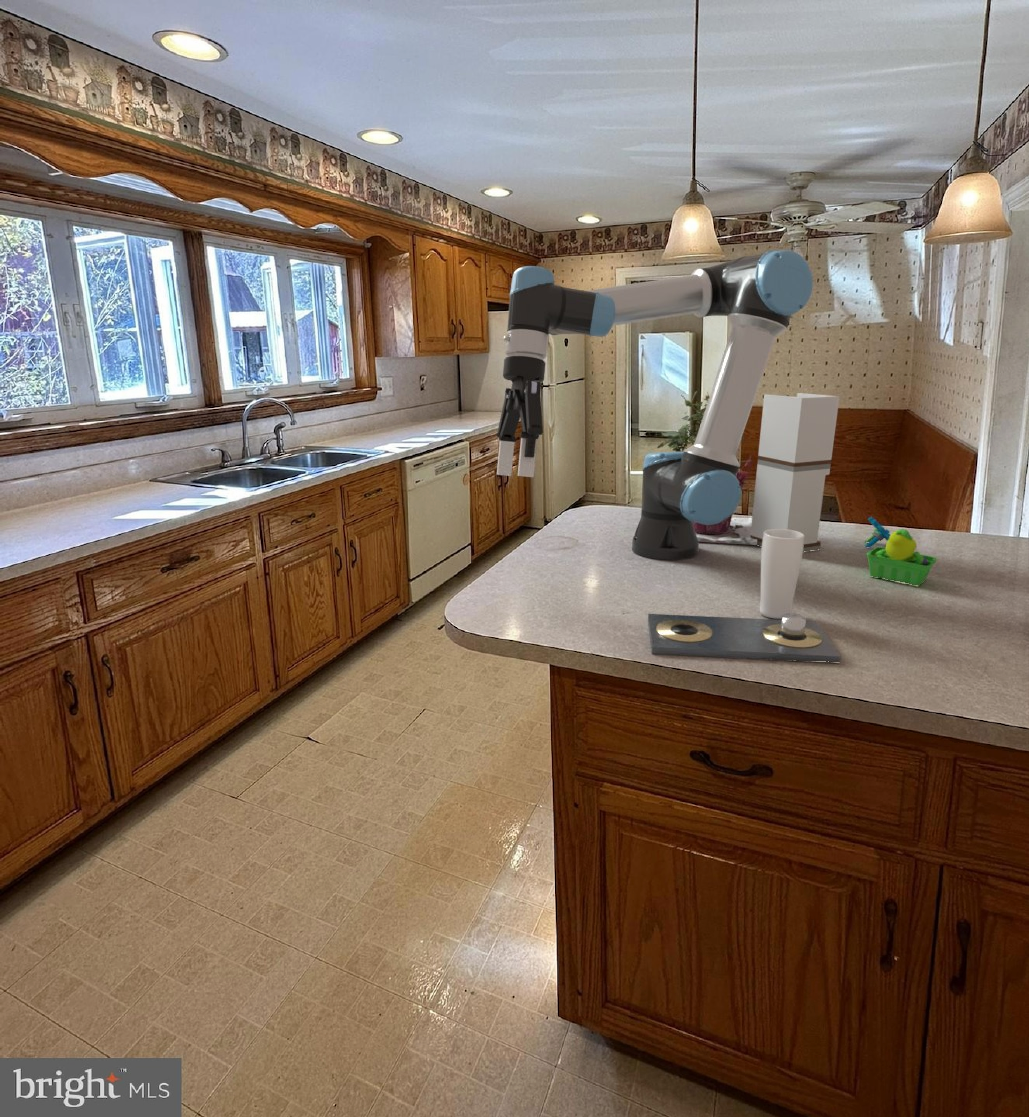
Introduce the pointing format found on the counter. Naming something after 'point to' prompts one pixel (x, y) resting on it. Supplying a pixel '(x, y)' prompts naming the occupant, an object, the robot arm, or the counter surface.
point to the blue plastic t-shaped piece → (877, 533)
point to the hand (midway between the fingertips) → (514, 476)
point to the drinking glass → (779, 570)
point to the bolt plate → (740, 638)
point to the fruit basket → (900, 560)
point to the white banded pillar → (793, 464)
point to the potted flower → (739, 524)
